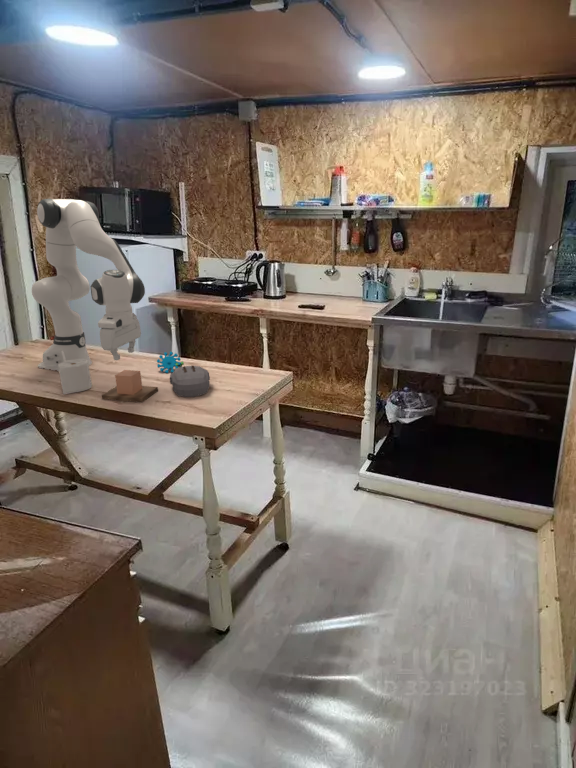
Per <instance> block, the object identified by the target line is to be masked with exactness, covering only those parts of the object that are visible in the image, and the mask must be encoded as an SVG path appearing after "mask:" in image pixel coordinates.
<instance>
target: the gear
mask: <svg viewBox="0 0 576 768" xmlns="http://www.w3.org/2000/svg"><path fill="white" fill-rule="evenodd" d="M163 355H164V356H163ZM158 357H159V358H158V359H157V360H156V362H157V363H156V364H157V365H156V366H157V368H158V369H159V370H160V372H161V373H163V372H164V373H166V374H169V372H170V374H172V373H173V372H174V371H175V369H176V368H179V367H183V366H184V364H185V363H184V361H181V357H180V356H179V355H178V353H176V352H175V353H173V352H172V351H169V354H168V352H167V351H165V352H163V354H160V355H159V356H158ZM160 359H161V360H162V361H161V360H160ZM174 367H175V369H174Z"/></svg>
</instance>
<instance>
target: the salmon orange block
mask: <svg viewBox="0 0 576 768" xmlns="http://www.w3.org/2000/svg"><path fill="white" fill-rule="evenodd" d="M141 374H142V373H141V370H134V369H133V370H132V369H131V370H130V369H123V370H122V371H120V372H118V373H117V374H115V375H114V377H115V384H116V386H117V393H118V394H131V395H134V394H135V393H137V392H138V391H140V390H141V389H142V386H143V383H142V375H141ZM116 386H115V387H116Z"/></svg>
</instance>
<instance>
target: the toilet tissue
mask: <svg viewBox="0 0 576 768" xmlns="http://www.w3.org/2000/svg"><path fill="white" fill-rule="evenodd" d="M58 368H59V371H58V372H59V373H58V374H59V378H60V383H61V389H62V394H63V395H67V394H73V393H74V394H75V393H80V392H84V391H87V390H89V389H90V388H91V389H92V386H93V385H92V383H93V382H92V377H91V371H90V365H89V364H88V361H87V360H83V359H75V360H68V361H64V362H61V363H59V364H58Z"/></svg>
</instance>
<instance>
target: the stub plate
mask: <svg viewBox="0 0 576 768" xmlns="http://www.w3.org/2000/svg"><path fill="white" fill-rule="evenodd" d="M158 391H159V387H158V386H148V385H142V389H141V390H140V391H138V392H137V393H135V394H134V395H131V394H118V393H117V386H115V387H114V386H113V388H111V389H109V390H107V391H105V393H103V394H101V400H107V399H109V400H110V401H121V402H133V403H143V402H144V401H146V400H147V399H149V398H150V397H152V396H153V395H154V394H156V393H157V392H158ZM109 400H108V401H109Z"/></svg>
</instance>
